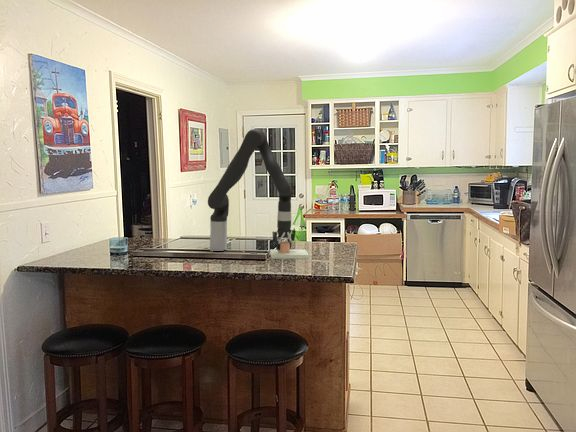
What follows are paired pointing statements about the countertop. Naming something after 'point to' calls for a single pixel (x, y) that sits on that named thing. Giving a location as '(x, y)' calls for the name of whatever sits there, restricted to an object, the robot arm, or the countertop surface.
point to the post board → (289, 254)
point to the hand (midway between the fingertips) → (283, 249)
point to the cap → (284, 247)
